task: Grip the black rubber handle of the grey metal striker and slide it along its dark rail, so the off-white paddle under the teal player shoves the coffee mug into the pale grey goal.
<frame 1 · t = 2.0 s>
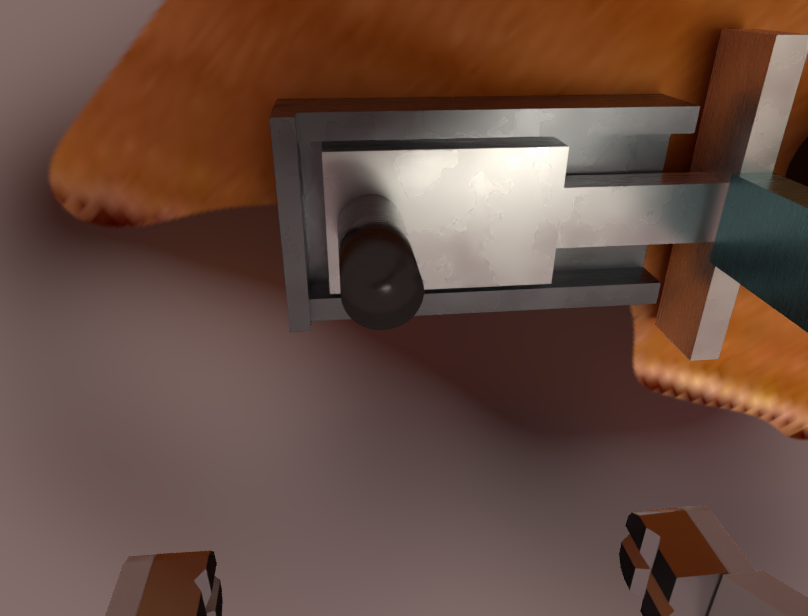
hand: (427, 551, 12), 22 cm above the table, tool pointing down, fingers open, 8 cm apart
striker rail: (470, 196, 32), on the table
striker: (586, 252, 25), point 8 cm above the table, slide at 0.0 cm
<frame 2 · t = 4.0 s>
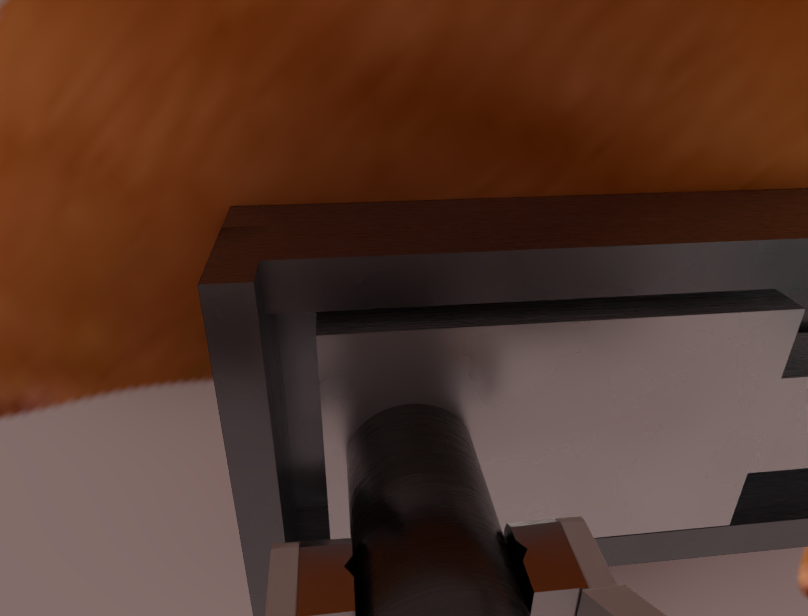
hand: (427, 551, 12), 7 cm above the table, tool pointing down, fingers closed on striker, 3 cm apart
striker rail: (574, 356, 18), on the table
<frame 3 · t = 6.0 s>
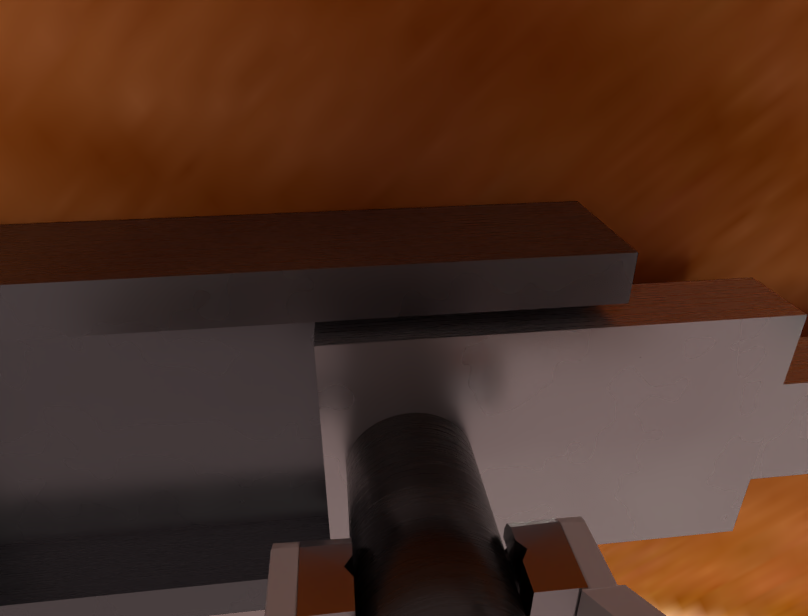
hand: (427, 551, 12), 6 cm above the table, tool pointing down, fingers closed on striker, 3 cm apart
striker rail: (230, 385, 17), on the table
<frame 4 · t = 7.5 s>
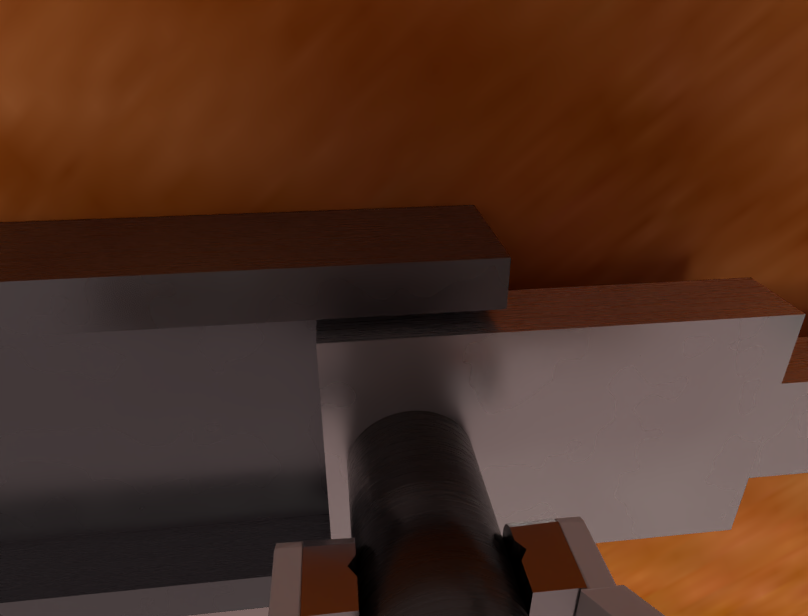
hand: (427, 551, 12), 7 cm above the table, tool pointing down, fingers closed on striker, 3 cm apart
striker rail: (130, 390, 17), on the table
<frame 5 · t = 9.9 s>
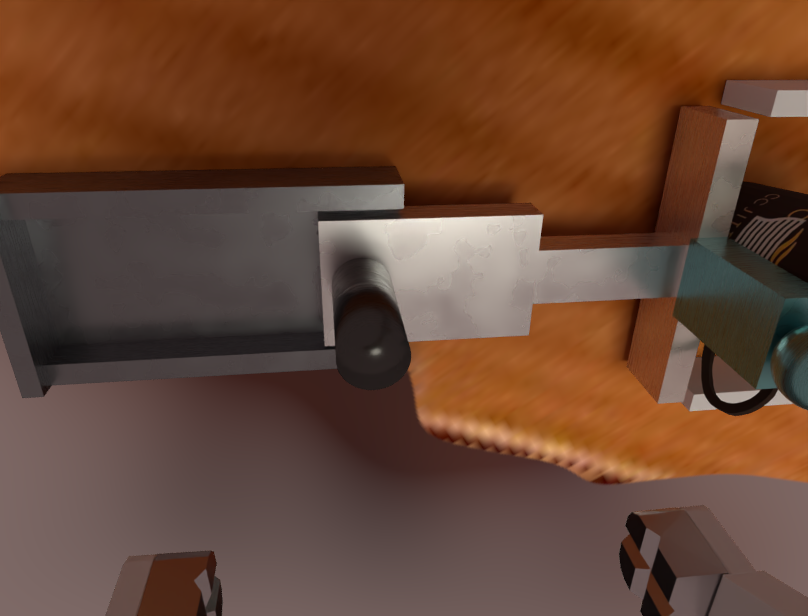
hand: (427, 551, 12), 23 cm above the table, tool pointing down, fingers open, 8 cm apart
goal: (802, 240, 37), on the table
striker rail: (220, 261, 33), on the table
coffee mug: (703, 247, 36), on the table, touching striker
striker: (558, 314, 28), point 8 cm above the table, slide at 12.9 cm, touching coffee mug
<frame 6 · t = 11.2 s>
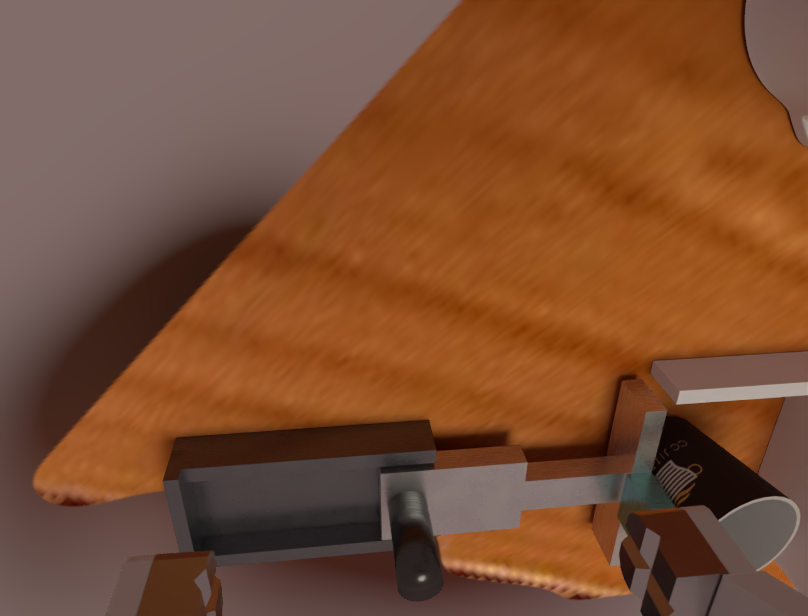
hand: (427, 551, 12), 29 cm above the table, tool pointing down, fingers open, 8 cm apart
goal: (715, 446, 52), on the table
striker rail: (310, 478, 49), on the table
coffee mug: (643, 455, 51), on the table, touching striker
striker: (535, 538, 43), point 8 cm above the table, slide at 12.9 cm, touching coffee mug
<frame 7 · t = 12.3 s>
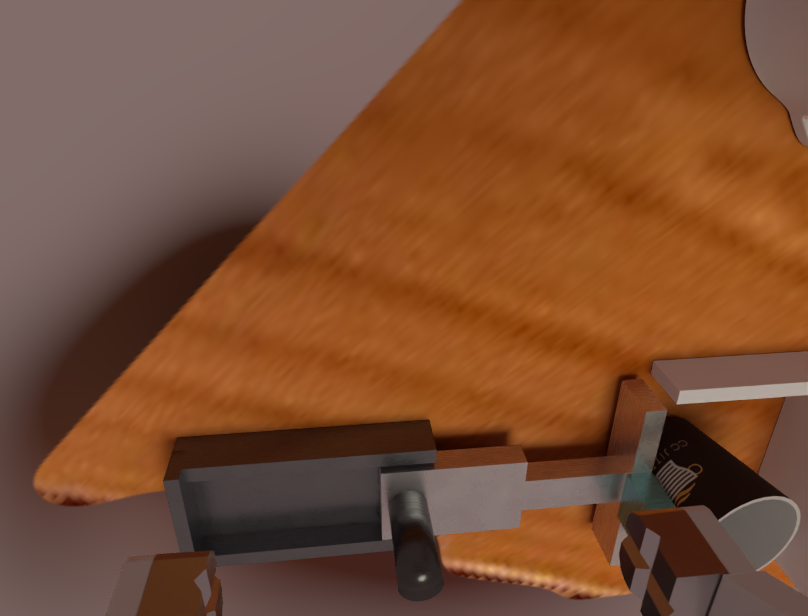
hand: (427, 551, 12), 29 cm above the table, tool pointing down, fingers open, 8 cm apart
goal: (715, 446, 52), on the table
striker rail: (310, 478, 49), on the table
coffee mug: (643, 455, 51), on the table, touching striker
striker: (536, 538, 43), point 8 cm above the table, slide at 12.9 cm, touching coffee mug
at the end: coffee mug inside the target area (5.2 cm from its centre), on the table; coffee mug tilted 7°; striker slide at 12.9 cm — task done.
